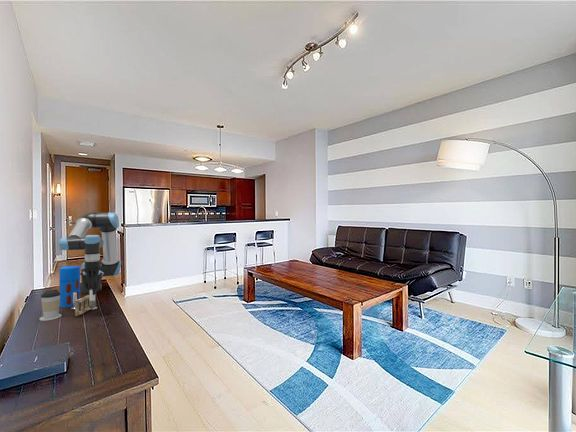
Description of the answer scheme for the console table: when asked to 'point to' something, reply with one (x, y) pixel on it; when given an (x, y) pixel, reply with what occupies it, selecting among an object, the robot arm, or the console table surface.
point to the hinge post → (93, 305)
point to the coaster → (50, 318)
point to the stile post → (74, 300)
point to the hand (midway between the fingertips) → (92, 300)
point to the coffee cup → (50, 304)
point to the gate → (83, 305)
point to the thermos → (69, 285)
